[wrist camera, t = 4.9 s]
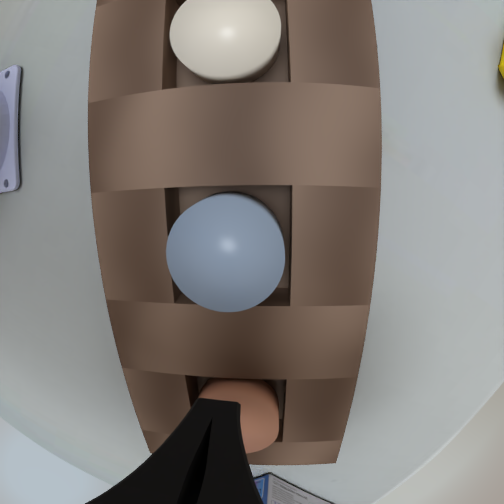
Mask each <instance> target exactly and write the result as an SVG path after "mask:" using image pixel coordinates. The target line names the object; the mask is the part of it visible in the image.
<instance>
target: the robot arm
mask: <svg viewBox="0 0 504 504" xmlns="http://www.w3.org/2000/svg"><path fill="white" fill-rule="evenodd" d="M9 74H10V75H9ZM20 74H21V68H20V66H18V65H13V66H11V67H9V68H7V69H5V70H3V71H1V72H0V193H2V192H8V191H13V190H16V189H18V187H19V184H20V179H19V163H18V102H19V86H20ZM8 182H9V185H8ZM240 415H241V404H239V403H238V402H234V401H224V400H216V399H207V398H198V399H196V401H195V402H194V404H193V406H192V407H191V409H190V410H189V411H188V413H187V414H186V416H185V417H184V418H183V420H182V421H181V422H180V424H179V425H178V426H177V427H176V429H175V430H174V431H173V432H172V433H171V434H170V436H169V437H168V438H167V439H166V440H165V441H164V443H163V444H162V445H161V446H160V447H159V448H158V449H157V450H156V451H155V452H154V453H153V454H152V455H151V456H150V457H149V458H148V459H147V460H146V461H145V462H144V463H143V464H141V465H140V466H139V467H138V468H137V469H136V470H135V471H133V472H132V473H131V474H130V475H128V476H127V477H126V478H125V479H123V480H122V481H121V482H119V483H118V484H116V485H115V486H113V487H112V488H111V489H109V490H108V491H106V492H105V493H103V494H101V495H100V496H98V497H96V498H95V499H93V500H91V501H89V502H87V503H85V504H264V503H263V501H262V499H261V496H260V494H259V492H258V489H257V487H256V484H255V481H254V478H253V475H252V472H251V469H250V466H249V463H248V459H247V455H246V451H245V447H244V443H243V438H242V431H241V423H240Z"/></svg>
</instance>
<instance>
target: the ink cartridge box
mask: <svg viewBox="0 0 504 504" xmlns="http://www.w3.org/2000/svg"><path fill="white" fill-rule="evenodd" d="M254 481H255V484H256V487H257V489H258V492H259V494H260V496H261V499H262V501H263V503H264V504H331V503H329V502H326V501H324V500H322V499H320V498H317V497H315V496H313V495H311V494H309V493H306V492H304V491H302V490H300V489H298V488H296V487H294V486H292V485H290V484H288V483H286V482H284V481H282V480H280V479H278V478H277V477H275V476H273V475H271V474H267V475H265V476H262V477H260V478H257V479H254Z"/></svg>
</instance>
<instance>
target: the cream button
mask: <svg viewBox="0 0 504 504" xmlns="http://www.w3.org/2000/svg"><path fill="white" fill-rule="evenodd" d="M280 38H281V20H280V16H279V13H278V11H277V8H276V7H275V5H274V4H273V2H272V1H271V0H186V1H185V2H184V3H183V4H182V5H181V7H180V8H179V9H178V10H177V12H176V14H175V15H174V18H173V20H172V23H171V27H170V43H171V46H172V49H173V51H174V53H175V55H176V56H177V57H178V59H179V60H180V61H181V62H182V63H183V64H184V65H185V66H186V67H187V68H188V69H190V70H191V71H192V72H193V73H194V74H195V75H196V76H197V77H198V78H200V79H201V80H203V81H205V82H207V83H210V84H228V83H249V82H252V81H254V80H256V79H257V78H259V77H261V76H262V75H263V74H264V73H266V72H267V71H268V70H269V69H270V68H271V66H272V65H273V64H274V62H275V60H276V58H277V56H278V53H279V49H280Z"/></svg>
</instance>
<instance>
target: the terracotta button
mask: <svg viewBox="0 0 504 504" xmlns="http://www.w3.org/2000/svg"><path fill="white" fill-rule="evenodd" d="M198 398H207V399H216V400H224V401H234V402H238V403H239V404H241V415H240V423H241V431H242V438H243V443H244V447H245V451H246V453H252V452H257V451H260V450H262V449H264V448H266V447H268V446H270V445H271V444H272V443H273V442H274V441H275V439H276V438H277V436H278V432H279V400H278V396H277V394H276V392H275V391H274V389H273V388H272V387H271V386H270V385H269V384H267V383H266V382H265V381H263V380H261V379H238V378H218V377H214V378H212V379H210V380H208V381H207V382H206V383H205V384H204V385H203V386H202V388H201V390H200V393H199V396H198Z"/></svg>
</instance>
